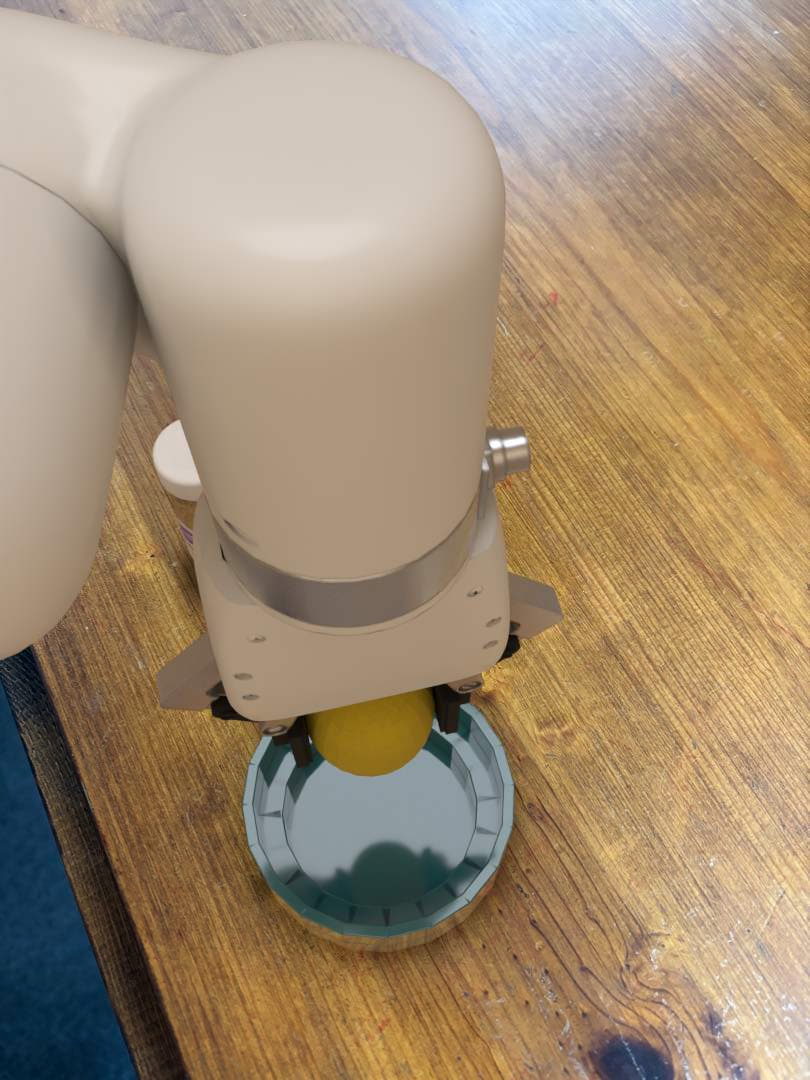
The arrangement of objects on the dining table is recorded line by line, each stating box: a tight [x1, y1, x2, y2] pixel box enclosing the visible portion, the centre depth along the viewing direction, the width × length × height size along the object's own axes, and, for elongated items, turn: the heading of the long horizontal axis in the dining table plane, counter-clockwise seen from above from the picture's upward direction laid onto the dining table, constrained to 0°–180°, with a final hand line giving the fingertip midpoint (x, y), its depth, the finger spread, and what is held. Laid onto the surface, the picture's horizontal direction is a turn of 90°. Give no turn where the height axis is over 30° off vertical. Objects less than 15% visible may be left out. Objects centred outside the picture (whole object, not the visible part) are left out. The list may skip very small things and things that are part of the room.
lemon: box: [304, 687, 435, 777], centre depth 45 cm, size 6×6×8 cm
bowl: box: [241, 702, 516, 953], centre depth 58 cm, size 14×14×5 cm
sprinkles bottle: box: [152, 418, 203, 573], centre depth 62 cm, size 5×5×13 cm
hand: (370, 716), depth 45 cm, fingers closed on lemon, 5 cm apart
